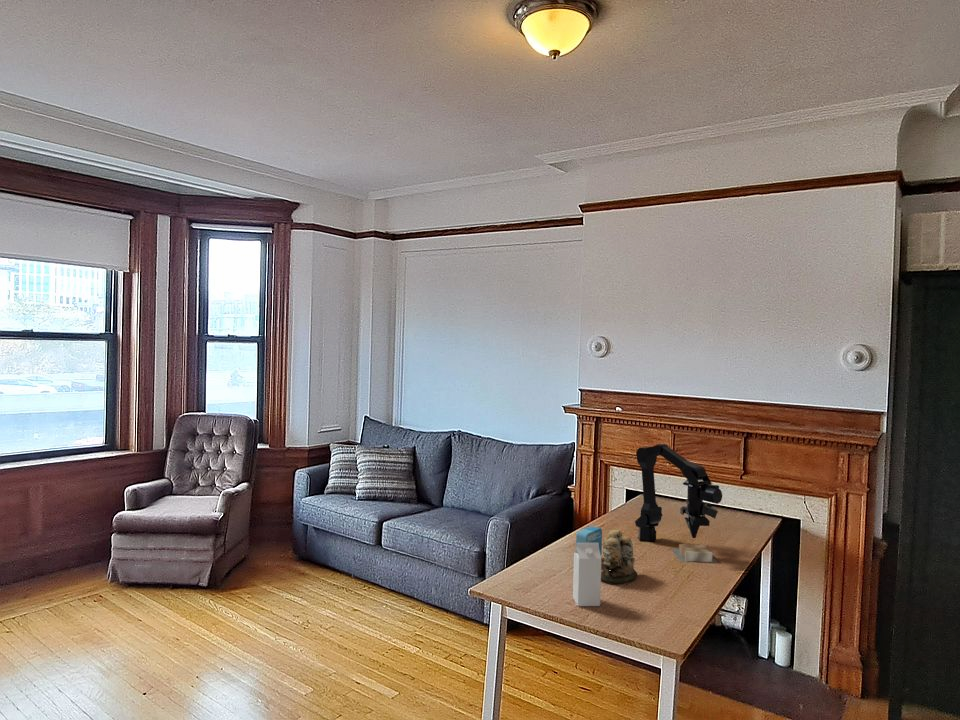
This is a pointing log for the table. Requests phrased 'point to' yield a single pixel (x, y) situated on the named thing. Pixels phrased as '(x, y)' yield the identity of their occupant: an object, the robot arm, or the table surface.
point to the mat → (676, 552)
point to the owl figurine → (618, 559)
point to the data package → (590, 536)
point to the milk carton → (587, 574)
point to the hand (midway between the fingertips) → (693, 537)
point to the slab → (695, 553)
